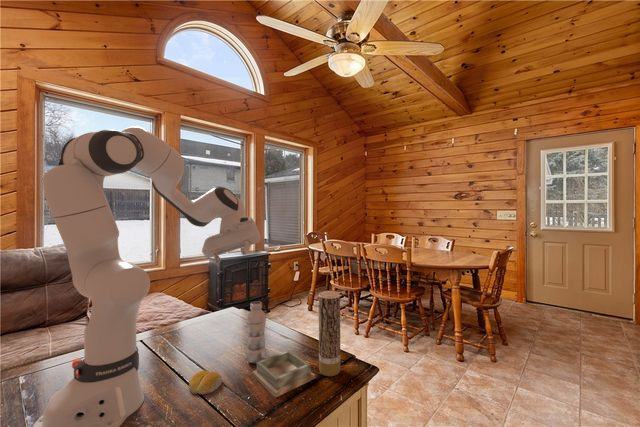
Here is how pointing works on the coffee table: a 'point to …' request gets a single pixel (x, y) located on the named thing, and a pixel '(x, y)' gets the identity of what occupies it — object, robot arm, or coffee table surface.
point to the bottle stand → (283, 373)
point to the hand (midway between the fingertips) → (230, 257)
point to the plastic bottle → (256, 333)
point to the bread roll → (205, 382)
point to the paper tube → (329, 333)
